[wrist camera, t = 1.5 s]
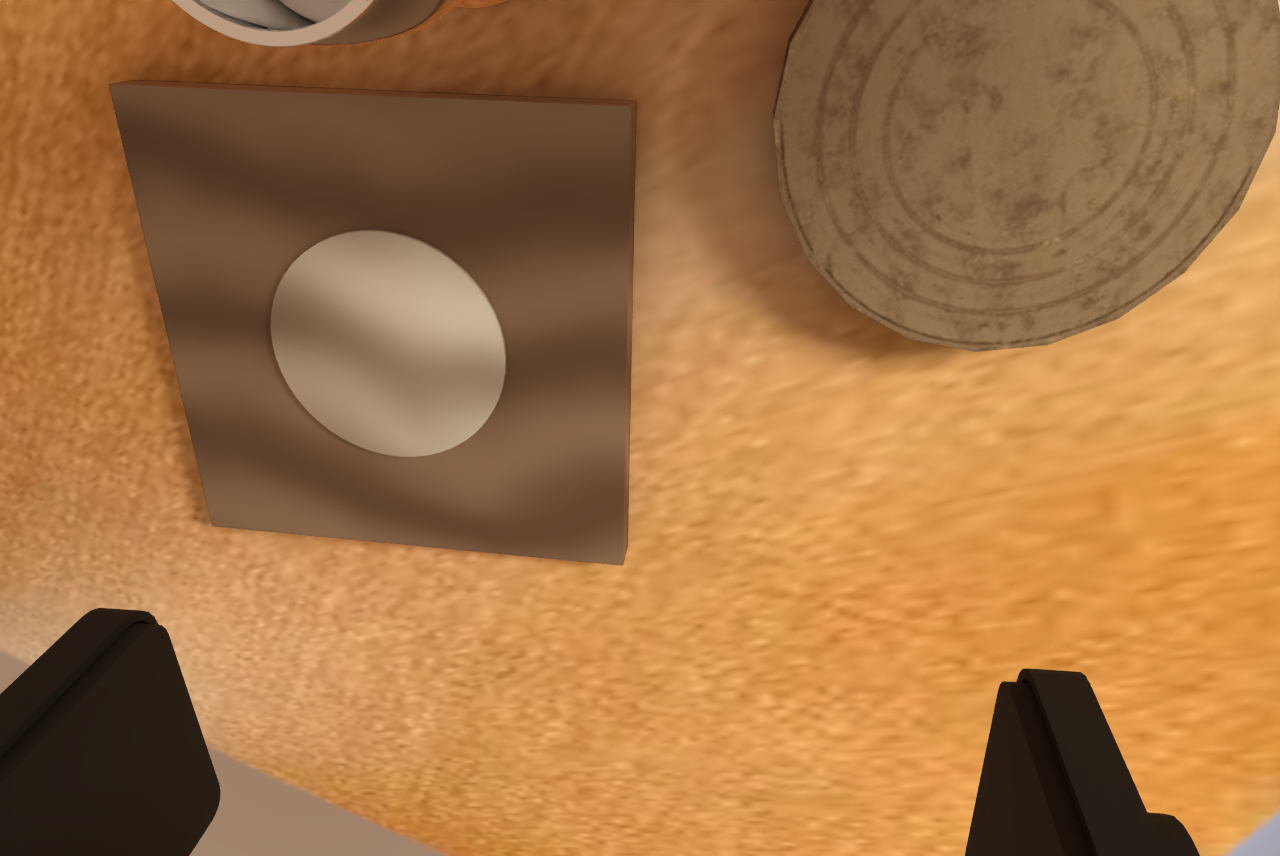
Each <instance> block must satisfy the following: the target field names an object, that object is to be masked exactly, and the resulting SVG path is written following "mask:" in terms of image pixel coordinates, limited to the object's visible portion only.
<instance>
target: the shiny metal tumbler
mask: <svg viewBox="0 0 1280 856" xmlns="http://www.w3.org/2000/svg"><path fill="white" fill-rule="evenodd" d="M172 1H173V2H174V3H175V4H176V5H177V6H179V7H180V8H181V9H182V10H184V11H185V12H186V13H187V14H189V15H190V16H191V17H193V18H194V19H196V20H197V21H199V22H200V23H202V24H204V25H205V26H207V27H209V28H211V29H213V30H214V31H216V32H219V33H221V34H223V35H225V36H228V37H230V38H233V39H236V40H239V41H242V42H245V43H249V44H254V45H259V46H266V47H295V46H349V45H358V44H368V43H375V42H381V41H385V40H388V39H392V38H395V37H399V36H402V35H406V34H409V33H412V32H415V31H417V30H419V29H421V28H423V27H425V26H427V25H429V24H431V23H432V22H434V21H435V20H437V19H439V18H440V17H442V16H443V15H445V14H446V13H448V12H449V11H451V10H452V9H453V8H454V7H456V6H458V7H465V8H482V7H489V6H493V5H497V4H500V3H502V2H505V1H507V0H172Z"/></svg>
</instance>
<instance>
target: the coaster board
mask: <svg viewBox="0 0 1280 856" xmlns="http://www.w3.org/2000/svg"><path fill="white" fill-rule="evenodd" d="M109 88H110V92H111V96H112V100H113V105H114V109H115V113H116V118H117V122H118V126H119V130H120V135H121V139H122V143H123V147H124V152H125V156H126V160H127V165H128V169H129V173H130V177H131V182H132V186H133V190H134V194H135V199H136V203H137V207H138V211H139V216H140V220H141V224H142V229H143V233H144V237H145V241H146V246H147V250H148V254H149V258H150V263H151V267H152V271H153V276H154V280H155V284H156V288H157V293H158V297H159V301H160V305H161V310H162V314H163V318H164V323H165V327H166V331H167V335H168V340H169V344H170V348H171V352H172V357H173V361H174V365H175V370H176V374H177V378H178V382H179V387H180V391H181V395H182V399H183V404H184V408H185V412H186V417H187V421H188V425H189V429H190V434H191V438H192V442H193V446H194V451H195V455H196V459H197V464H198V468H199V472H200V476H201V481H202V485H203V489H204V493H205V498H206V502H207V506H208V511H209V515H210V519H211V523H212V526H216V527H227V528H237V529H248V530H258V531H268V532H279V533H289V534H300V535H310V536H320V537H331V538H341V539H352V540H362V541H372V542H383V543H393V544H404V545H414V546H424V547H435V548H445V549H456V550H466V551H476V552H487V553H497V554H508V555H518V556H528V557H539V558H549V559H560V560H570V561H580V562H591V563H601V564H612V565H622V566H623V564H624V560H625V556H626V552H627V548H628V505H629V454H630V404H631V354H632V303H633V253H634V203H635V152H636V102H637V101H625V100H601V99H577V98H553V97H529V96H505V95H481V94H457V93H433V92H409V91H385V90H361V89H337V88H313V87H289V86H265V85H241V84H217V83H193V82H170V81H146V80H131V81H125V82H119V83H114V84H109Z"/></svg>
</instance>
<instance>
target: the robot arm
mask: <svg viewBox="0 0 1280 856" xmlns="http://www.w3.org/2000/svg"><path fill="white" fill-rule="evenodd" d="M219 801H220V786H219V782H218V779H217V776H216V774H215V771H214V767H213V764H212V761H211V759H210V755H209V753H208V749H207V746H206V744H205V741H204V738H203V735H202V732H201V729H200V726H199V723H198V720H197V717H196V714H195V711H194V708H193V705H192V702H191V699H190V696H189V693H188V690H187V687H186V684H185V681H184V678H183V675H182V672H181V669H180V666H179V664H178V661H177V658H176V655H175V652H174V649H173V646H172V643H171V640H170V637H169V634H168V632H167V630H166V629H165V628H164V627H163V626H162V625H158V623H157V621H156V619H155V617H154V616H153V615H151V614H150V613H149V612H145V611H138V610H122V609H107V608H98V609H94V610H91V611H90V612H88V613H87V614H85V615H84V616H83V617H82V618H81V619H80V620H78V621H77V622H76V623H75V624H74V625H73V626H72V627H71V628H70V629H69V630H68V631H67V632H66V633H65V634H64V635H63V636H62V637H60V638H59V639H58V640H57V641H56V642H55V643H54V644H53V645H52V646H51V647H50V648H49V649H48V650H47V651H46V652H45V653H44V654H42V655H41V656H40V657H39V658H38V659H37V660H36V661H35V662H34V663H33V664H32V665H31V666H30V667H29V668H28V669H27V670H26V671H24V672H23V673H22V674H21V675H20V676H19V677H18V678H17V679H16V680H15V681H14V682H13V683H12V684H11V685H10V686H9V687H8V688H6V690H4V691H3V692H2V693H1V694H0V856H189V855H190V854H191V852H192V851H193V849H194V848H195V846H196V844H197V843H198V841H199V840H200V838H201V837H202V835H203V834H204V832H205V831H206V829H207V827H208V826H209V825H210V823H211V822H212V820H213V818H214V816H215V814H216V811H217V809H218V806H219ZM965 856H1200V855H1199V853H1198V851H1197V848H1196V846H1195V844H1194V842H1193V840H1192V839H1191V837H1190V835H1189V834H1188V832H1187V830H1186V829H1185V827H1184V825H1183V824H1182V823H1181V822H1179V821H1178V820H1177V819H1176V818H1175V817H1174V816H1171V815H1167V814H1159V813H1147V811H1146V809H1145V806H1144V804H1143V802H1142V800H1141V797H1140V795H1139V793H1138V791H1137V788H1136V786H1135V784H1134V782H1133V779H1132V777H1131V775H1130V773H1129V770H1128V768H1127V766H1126V764H1125V761H1124V759H1123V757H1122V755H1121V752H1120V750H1119V748H1118V746H1117V743H1116V741H1115V739H1114V737H1113V734H1112V732H1111V730H1110V728H1109V725H1108V723H1107V721H1106V719H1105V716H1104V714H1103V712H1102V710H1101V707H1100V705H1099V703H1098V701H1097V698H1096V696H1095V694H1094V692H1093V689H1092V687H1091V685H1090V683H1089V681H1088V679H1087V678H1086V676H1085V675H1084V674H1082V673H1081V672H1071V671H1056V670H1041V669H1022V670H1021V672H1020V673H1019V676H1018V679H1017V682H1002V683H1001V684H1000V686H999V690H998V694H997V699H996V704H995V709H994V714H993V719H992V724H991V729H990V734H989V739H988V743H987V748H986V753H985V758H984V763H983V768H982V773H981V778H980V783H979V788H978V793H977V798H976V803H975V808H974V813H973V817H972V822H971V827H970V832H969V837H968V842H967V847H966V852H965Z"/></svg>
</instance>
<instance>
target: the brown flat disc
mask: <svg viewBox="0 0 1280 856" xmlns="http://www.w3.org/2000/svg"><path fill="white" fill-rule="evenodd" d="M1279 103H1280V10H1279V6H1278V1H1277V0H810V1H809V3H808V5H807V7H806V8H805V10H804V12H803V14H802V16H801V18H800V19H799V21H798V23H797V25H796V27H795V29H794V30H793V32H792V34H791V36H790V38H789V41H788V45H787V50H786V55H785V59H784V64H783V68H782V73H781V78H780V82H779V87H778V91H777V96H776V101H775V105H774V110H773V126H774V137H775V149H776V160H777V171H778V183H779V194H780V198H781V200H782V203H783V205H784V207H785V210H786V212H787V214H788V217H789V219H790V221H791V223H792V226H793V228H794V230H795V233H796V235H797V237H798V240H799V242H800V244H801V247H802V249H803V251H804V253H805V256H806V258H807V260H808V261H809V262H810V263H811V264H812V265H813V266H814V267H815V268H816V269H817V271H818V272H819V273H820V274H821V275H822V276H823V277H824V278H825V279H826V280H827V281H828V283H829V284H830V285H831V286H832V287H833V288H834V289H835V290H836V291H837V292H838V293H839V295H840V296H841V297H842V298H843V299H844V300H845V301H846V302H847V303H848V304H849V305H850V306H851V307H852V308H853V309H855V310H857V311H859V312H861V313H863V314H864V315H866V316H868V317H870V318H872V319H874V320H875V321H877V322H879V323H881V324H883V325H884V326H886V327H888V328H890V329H892V330H894V331H895V332H897V333H899V334H901V335H903V336H905V337H906V338H908V339H912V340H918V341H923V342H928V343H933V344H938V345H943V346H948V347H954V348H959V349H964V350H969V351H974V352H978V351H989V350H1000V349H1011V348H1021V347H1032V346H1043V345H1049V344H1051V343H1054V342H1057V341H1059V340H1062V339H1065V338H1067V337H1070V336H1073V335H1076V334H1078V333H1081V332H1084V331H1086V330H1089V329H1092V328H1094V327H1097V326H1100V325H1102V324H1105V323H1108V322H1110V321H1113V320H1116V319H1118V318H1120V317H1121V316H1123V315H1124V314H1126V313H1127V312H1129V311H1130V310H1131V309H1133V308H1134V307H1136V306H1137V305H1139V304H1140V303H1141V302H1143V301H1144V300H1146V299H1147V298H1149V297H1150V296H1152V295H1153V294H1154V293H1156V292H1157V291H1159V290H1160V289H1162V288H1163V287H1164V286H1166V285H1167V284H1169V283H1170V282H1172V281H1173V280H1175V279H1176V278H1177V277H1179V276H1180V275H1182V274H1183V273H1184V272H1185V271H1186V270H1187V269H1188V268H1189V267H1190V266H1191V264H1192V263H1193V262H1194V261H1195V260H1196V259H1197V257H1198V256H1199V255H1200V254H1201V253H1202V252H1203V250H1204V249H1205V248H1206V247H1207V246H1208V245H1209V243H1210V242H1211V241H1212V240H1213V239H1214V238H1215V236H1216V235H1217V234H1218V233H1219V232H1220V231H1221V230H1222V228H1223V227H1224V226H1225V225H1226V224H1227V223H1228V221H1229V220H1230V219H1231V218H1232V217H1233V216H1234V214H1235V213H1236V212H1237V211H1238V210H1239V208H1240V206H1241V204H1242V202H1243V200H1244V197H1245V195H1246V193H1247V191H1248V189H1249V187H1250V185H1251V183H1252V181H1253V178H1254V176H1255V174H1256V172H1257V170H1258V168H1259V166H1260V164H1261V162H1262V160H1263V157H1264V155H1265V153H1266V151H1267V149H1268V147H1269V145H1270V143H1271V141H1272V138H1273V136H1274V134H1275V131H1276V124H1277V117H1278V110H1279Z"/></svg>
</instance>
